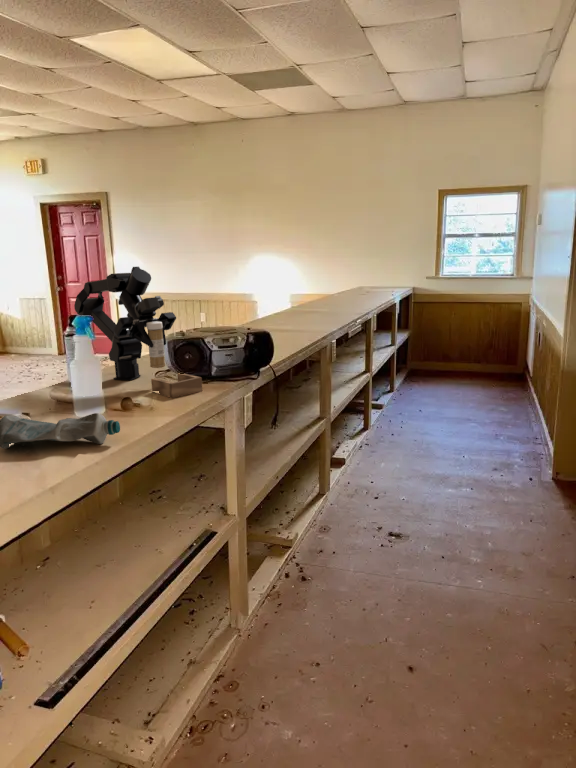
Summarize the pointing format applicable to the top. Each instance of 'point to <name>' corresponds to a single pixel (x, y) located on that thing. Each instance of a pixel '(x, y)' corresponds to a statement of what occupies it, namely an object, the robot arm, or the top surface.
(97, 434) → the crushed plastic bottle
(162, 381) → the cradle
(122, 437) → the top surface
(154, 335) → the sprinkles bottle
